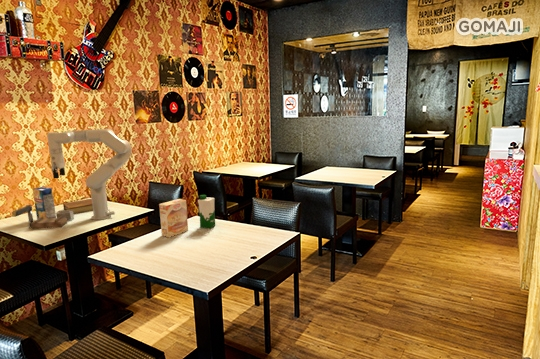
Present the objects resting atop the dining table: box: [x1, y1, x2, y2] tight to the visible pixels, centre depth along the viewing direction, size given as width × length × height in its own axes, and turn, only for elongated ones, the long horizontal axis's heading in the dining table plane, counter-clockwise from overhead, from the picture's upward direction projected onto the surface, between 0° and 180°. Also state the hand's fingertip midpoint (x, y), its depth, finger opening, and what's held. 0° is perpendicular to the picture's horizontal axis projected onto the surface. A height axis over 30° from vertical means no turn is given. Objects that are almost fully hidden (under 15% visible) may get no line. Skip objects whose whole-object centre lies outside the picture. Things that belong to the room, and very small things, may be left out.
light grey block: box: [55, 210, 75, 222], centre depth 260 cm, size 9×5×7 cm, turn 96°
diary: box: [62, 198, 93, 215], centre depth 286 cm, size 23×19×6 cm
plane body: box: [31, 216, 68, 230], centre depth 248 cm, size 18×9×5 cm, turn 96°
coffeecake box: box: [158, 198, 189, 238], centre depth 227 cm, size 15×7×20 cm, turn 143°
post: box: [27, 209, 34, 229], centre depth 246 cm, size 4×4×11 cm
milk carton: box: [197, 194, 216, 229], centre depth 238 cm, size 9×9×20 cm
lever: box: [11, 204, 33, 218], centre depth 238 cm, size 16×3×3 cm, turn 178°
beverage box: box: [32, 186, 57, 220], centre depth 261 cm, size 7×11×22 cm, turn 61°
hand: (59, 176), depth 254 cm, fingers open, 9 cm apart
